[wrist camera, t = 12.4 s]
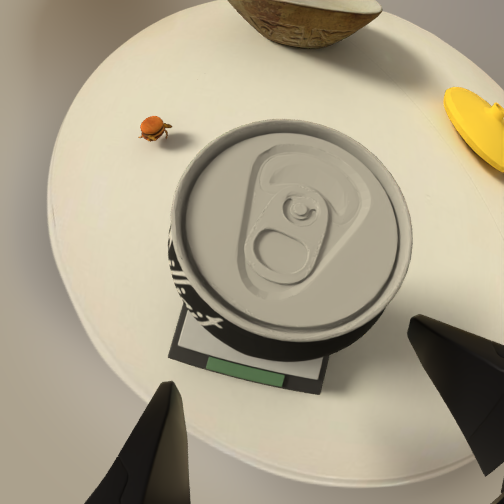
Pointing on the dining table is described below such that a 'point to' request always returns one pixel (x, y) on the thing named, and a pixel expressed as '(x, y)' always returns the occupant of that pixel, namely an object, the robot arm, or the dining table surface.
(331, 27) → the bowl
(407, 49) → the dining table surface
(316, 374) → the scale
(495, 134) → the vase
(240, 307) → the beverage can
